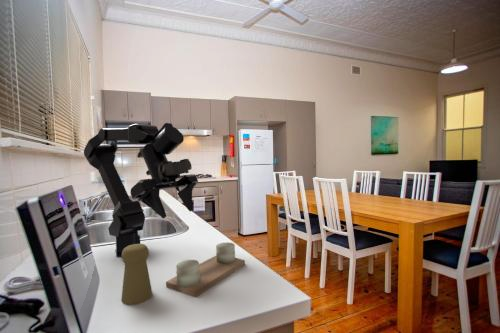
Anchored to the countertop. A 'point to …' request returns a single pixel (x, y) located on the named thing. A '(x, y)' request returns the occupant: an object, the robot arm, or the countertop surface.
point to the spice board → (205, 271)
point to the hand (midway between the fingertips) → (178, 214)
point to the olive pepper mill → (135, 275)
